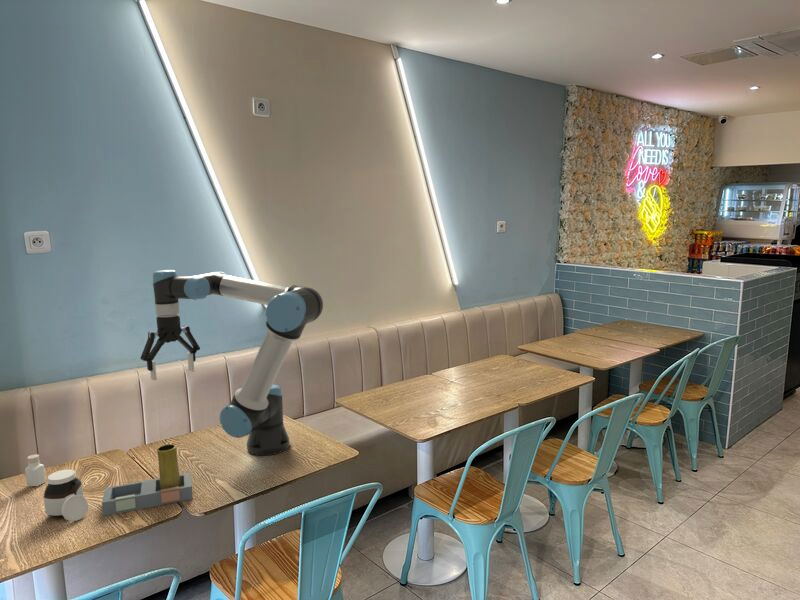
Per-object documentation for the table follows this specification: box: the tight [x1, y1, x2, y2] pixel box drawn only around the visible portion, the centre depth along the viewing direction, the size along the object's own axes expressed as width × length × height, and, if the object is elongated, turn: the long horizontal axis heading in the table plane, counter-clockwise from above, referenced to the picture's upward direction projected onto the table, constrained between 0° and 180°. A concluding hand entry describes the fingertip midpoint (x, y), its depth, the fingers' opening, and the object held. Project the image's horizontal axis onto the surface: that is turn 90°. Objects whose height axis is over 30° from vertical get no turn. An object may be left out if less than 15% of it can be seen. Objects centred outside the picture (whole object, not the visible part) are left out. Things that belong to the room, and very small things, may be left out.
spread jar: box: [43, 469, 89, 522], centre depth 166 cm, size 12×11×12 cm
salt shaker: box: [24, 453, 47, 487], centre depth 186 cm, size 4×4×10 cm
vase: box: [156, 443, 181, 491], centre depth 176 cm, size 6×6×14 cm
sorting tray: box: [101, 472, 193, 517], centre depth 174 cm, size 24×10×4 cm, turn 111°
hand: (173, 375), depth 204 cm, fingers open, 13 cm apart
